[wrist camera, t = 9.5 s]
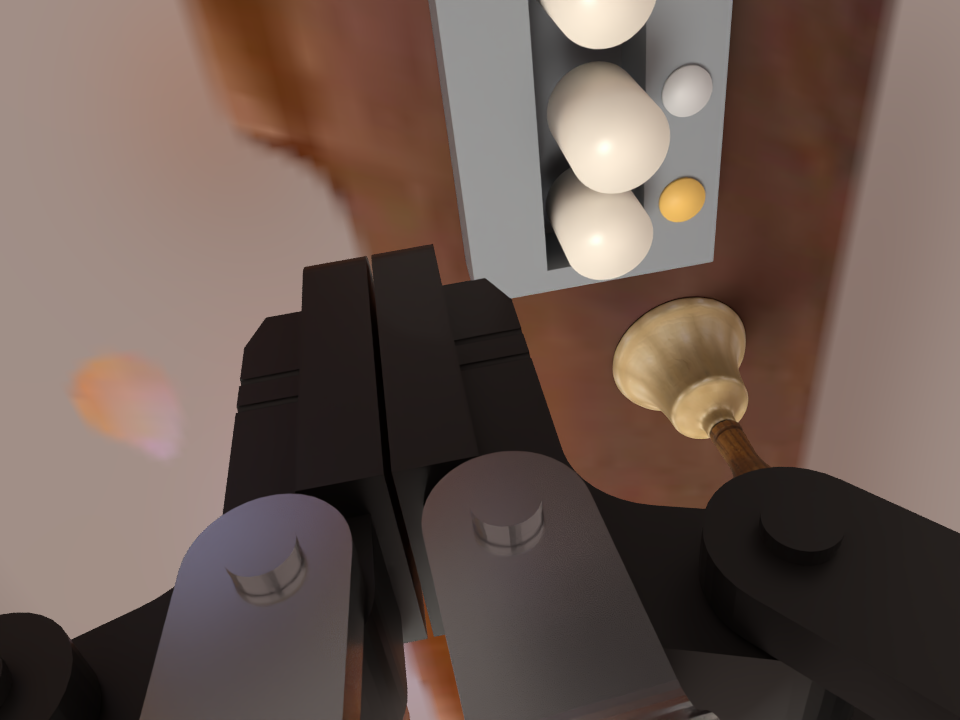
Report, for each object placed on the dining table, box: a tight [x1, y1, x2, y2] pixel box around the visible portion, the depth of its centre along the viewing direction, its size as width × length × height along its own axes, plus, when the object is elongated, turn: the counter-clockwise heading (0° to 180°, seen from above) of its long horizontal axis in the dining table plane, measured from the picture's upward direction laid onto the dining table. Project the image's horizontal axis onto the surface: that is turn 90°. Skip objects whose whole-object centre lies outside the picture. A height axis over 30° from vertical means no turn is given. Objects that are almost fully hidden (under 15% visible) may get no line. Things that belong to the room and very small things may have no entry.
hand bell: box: [613, 297, 771, 478], centre depth 43 cm, size 8×8×16 cm
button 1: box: [546, 168, 653, 280], centre depth 38 cm, size 4×4×4 cm
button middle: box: [547, 61, 670, 194], centre depth 33 cm, size 4×4×4 cm
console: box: [428, 0, 733, 298], centre depth 36 cm, size 18×12×4 cm, turn 7°
